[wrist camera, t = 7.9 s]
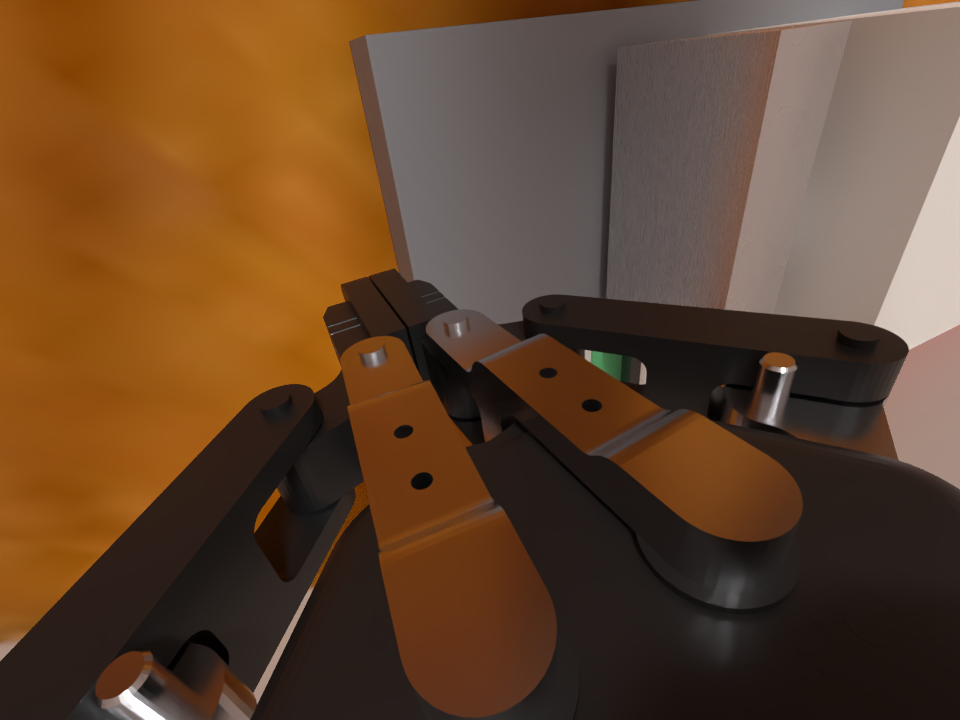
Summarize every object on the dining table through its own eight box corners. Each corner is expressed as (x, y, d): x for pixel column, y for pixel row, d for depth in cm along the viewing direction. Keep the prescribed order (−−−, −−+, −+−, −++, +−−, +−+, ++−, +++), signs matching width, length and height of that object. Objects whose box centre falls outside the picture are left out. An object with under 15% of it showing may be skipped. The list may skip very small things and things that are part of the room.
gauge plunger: (617, 47, 15) (781, 30, 10) (854, 15, 18) (1051, -8, 14) (600, 422, 23) (686, 498, 19) (763, 350, 26) (867, 401, 22)
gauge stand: (349, 41, 14) (515, -22, 6) (859, -14, 21) (1244, -76, 13) (439, 457, 23) (549, 649, 15) (769, 321, 30) (961, 404, 22)
